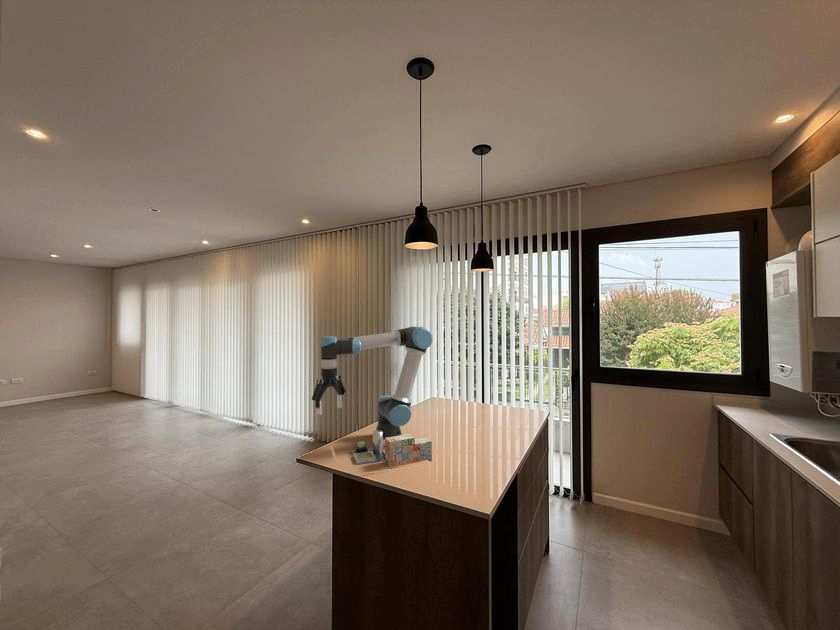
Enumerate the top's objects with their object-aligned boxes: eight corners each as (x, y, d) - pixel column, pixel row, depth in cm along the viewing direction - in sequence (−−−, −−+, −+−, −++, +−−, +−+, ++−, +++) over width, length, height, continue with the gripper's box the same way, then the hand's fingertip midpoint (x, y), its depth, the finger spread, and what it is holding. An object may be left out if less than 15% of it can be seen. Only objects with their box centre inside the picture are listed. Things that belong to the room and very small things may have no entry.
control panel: (380, 448, 174) (380, 441, 174) (389, 462, 157) (389, 455, 157) (350, 452, 169) (350, 445, 169) (356, 467, 152) (356, 459, 152)
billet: (381, 449, 170) (381, 429, 170) (383, 453, 166) (383, 432, 166) (371, 450, 169) (371, 430, 169) (373, 454, 164) (373, 433, 164)
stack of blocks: (426, 456, 165) (426, 430, 165) (432, 461, 159) (432, 434, 159) (384, 464, 156) (384, 437, 156) (389, 469, 150) (389, 441, 150)
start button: (364, 446, 170) (364, 440, 170) (365, 449, 166) (365, 443, 166) (356, 447, 168) (356, 441, 168) (358, 450, 165) (358, 444, 165)
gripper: (341, 364, 179) (341, 404, 179) (303, 370, 158) (303, 416, 157) (352, 365, 175) (352, 406, 175) (314, 371, 154) (315, 418, 153)
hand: (329, 411), depth 166 cm, fingers open, 13 cm apart
